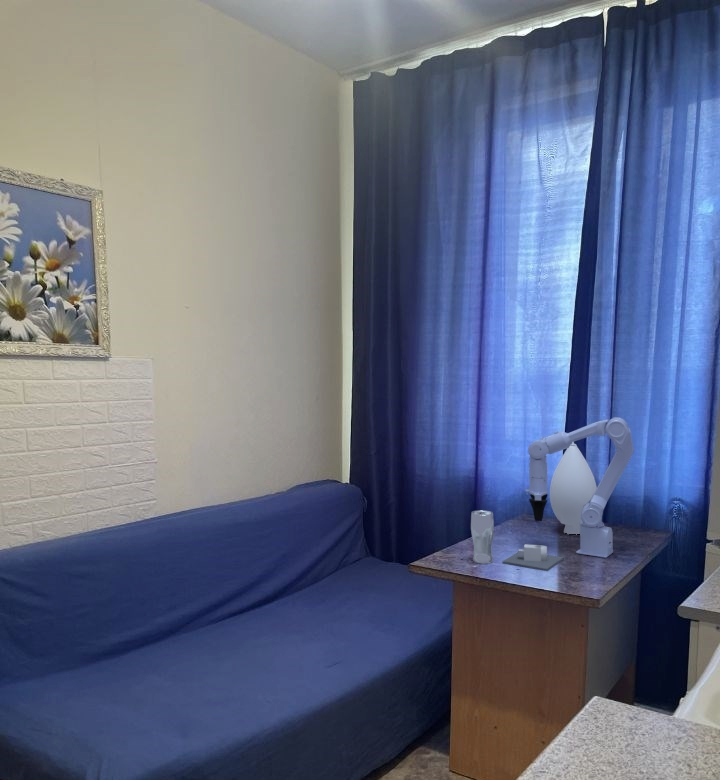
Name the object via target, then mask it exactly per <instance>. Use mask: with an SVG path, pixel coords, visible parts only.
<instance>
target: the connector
mask: <svg viewBox="0 0 720 780" xmlns="http://www.w3.org/2000/svg"><path fill="white" fill-rule="evenodd" d="M517 552H518V555H524V560H526V561H542V562H543V561H547V555H548V546H547V545H541V544H540V545H539V544H527V543H526V544H524V546H523V548H522V549H521V548H518V549H517Z"/></svg>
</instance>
